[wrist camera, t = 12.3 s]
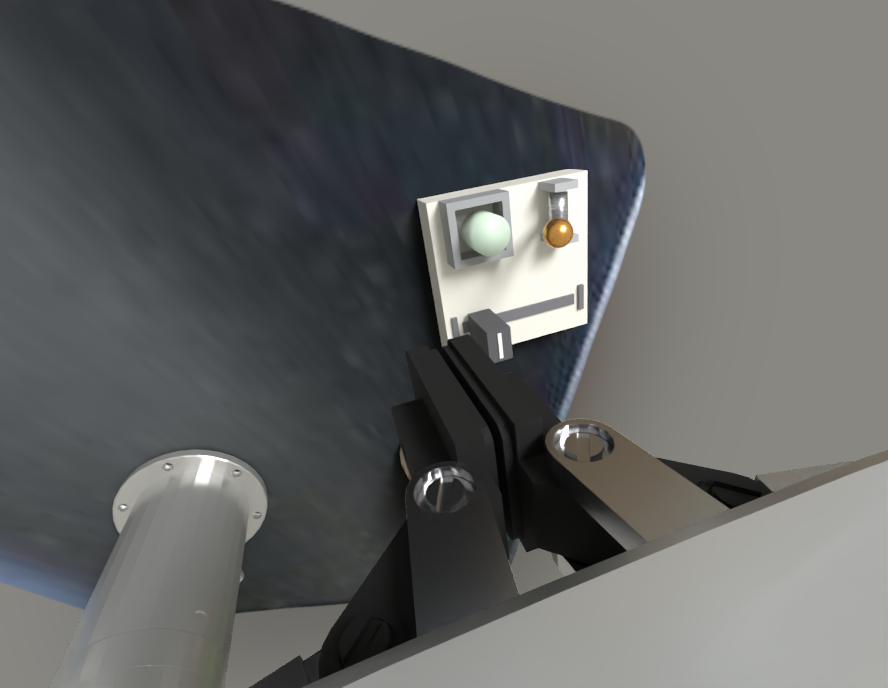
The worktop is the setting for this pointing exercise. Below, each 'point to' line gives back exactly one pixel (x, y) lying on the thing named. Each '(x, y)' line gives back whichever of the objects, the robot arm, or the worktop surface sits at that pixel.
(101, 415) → the worktop surface
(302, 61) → the worktop surface
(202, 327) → the worktop surface
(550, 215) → the toggle lever
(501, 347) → the slider knob
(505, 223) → the push button
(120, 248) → the worktop surface
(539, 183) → the panel
